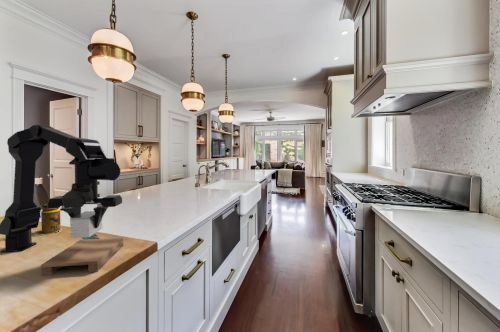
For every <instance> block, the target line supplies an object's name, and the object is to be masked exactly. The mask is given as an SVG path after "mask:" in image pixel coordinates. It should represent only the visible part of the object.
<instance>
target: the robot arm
mask: <svg viewBox="0 0 500 332" xmlns="http://www.w3.org/2000/svg"><path fill="white" fill-rule="evenodd" d="M50 143H51V144H55V145H56V146H59V147H62V148H64V149H65V152H66V153H67V154H69V155H70V156H72V157H73V159H71V160H70V161H69V162H68V165H70V166H71V165H73V166H74V183H71V189H70V190H69V191H67V192H65V194H64V195H59V196H55V197H51V198H49V199H48V201H47V203H46V204H47V208H59V209H60V212H61V211H63V212H65V213H67V214H68V216H69V217H70V218H72V217H74V216H76V215H78V214H81V213H82V207H84V205H96V207H94V208H93V210H92V211H95V228H98V226H99V224H100V222H101V220H102V221H103V217H104V215H105V213H106V212H107V210H108V208H115V207H117V206H119V205H121V204H122V203H123V198H122V196H121V195H120V194H110V195H109V194H108V195H106V196H103V197H101V194H100V193H99V192H98V186H99V185H100V184H101V183H100V181H116V180H117V179H118V178H119V177H120V175H121V168H120V166H119V164H118V162H115V158H114V157H110V158H109V157H108V156H107V153H106V152H105V151H104V150H103V147H102V146H101V145H100V142H99V141H98V140H97V139H92V138H91V139H89V138H83V137H77V136H74V135H73V134H69V133H66V132H63V131H61V130H59V129H56V128H54V127H52V126H50V125H45V124H44V125H43V124H42V125H41V124H35V125H34V124H33V125H31V126H30V127H28V128H26V129H22V130H18V131H16V132H15V133H13V134H12V135H11V136H9V138H8V139H7V141H6V144H7V146H8V147H7V148H8V154H10V155H11V157H12V158H13V159H14V163H15V164H14V176H13V177H14V178H13V179H14V181H13V198H12V203H11V204H10V205H9V206H8V207H7V209H6V210H5V212H4V213H5V214H4V217H3V219H2V221H0V235H3V236H5V239H4V246H5V247H4V248H3V249H1V250H0V253H4V252H5V253H7V252H22V251H25V250H26V249H29V248H31V247H33V246H36V245H37V242H36V241H35V242H32V240H33V239H32V237H33V236H32V229H36V228H38V227H39V222H40V219H41V212H42V208H41V206H38V205H37V204H36V203H35V202H34V200H35V198H34V197H35V185H36V184H35V183H36V180H35V179H36V178H35V177H36V165H37V164H36V163H37V161H38V160H39V158H41V156H43V154H44V148H46V147H47V146H48V145H50ZM70 218H69V219H70Z"/></svg>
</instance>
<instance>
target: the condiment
mask: <svg viewBox="0 0 500 332" xmlns="http://www.w3.org/2000/svg"><path fill="white" fill-rule="evenodd" d="M41 207H42V208H41V211H40V216H41V218H40V219H41V230H35V231H34V237H39V236H44V235H53V234H56V233H55V232H57V233H62V232H63V229H62V227H61V210H60V209H61V208H60V207H59V208H47V203H44V204H42V205H41ZM60 229H61V230H60ZM58 231H59V232H58ZM50 233H51V234H50Z"/></svg>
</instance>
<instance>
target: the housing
mask: <svg viewBox="0 0 500 332" xmlns="http://www.w3.org/2000/svg"><path fill="white" fill-rule="evenodd" d="M69 222H70V223H69V227H70V231H69V232H70V239H77V238H78V239H79V238H82V237H90V236H92V235H93V234H95V235H96V233H98V232H100V231H101V230H103V219H102V220H101V222H100V224H99V226H98V228H95V211H94V210H92V211H90V210H86V211H84V212H81V214H78V215H76V216H74V217H72V218H69ZM82 239H83V238H82Z"/></svg>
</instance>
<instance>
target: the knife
mask: <svg viewBox="0 0 500 332" xmlns="http://www.w3.org/2000/svg"><path fill="white" fill-rule="evenodd" d="M87 239H101V238H100V237H99V236H98V235H96V233H95V234H93V235H92V236H90V237H82V240H87Z"/></svg>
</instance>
